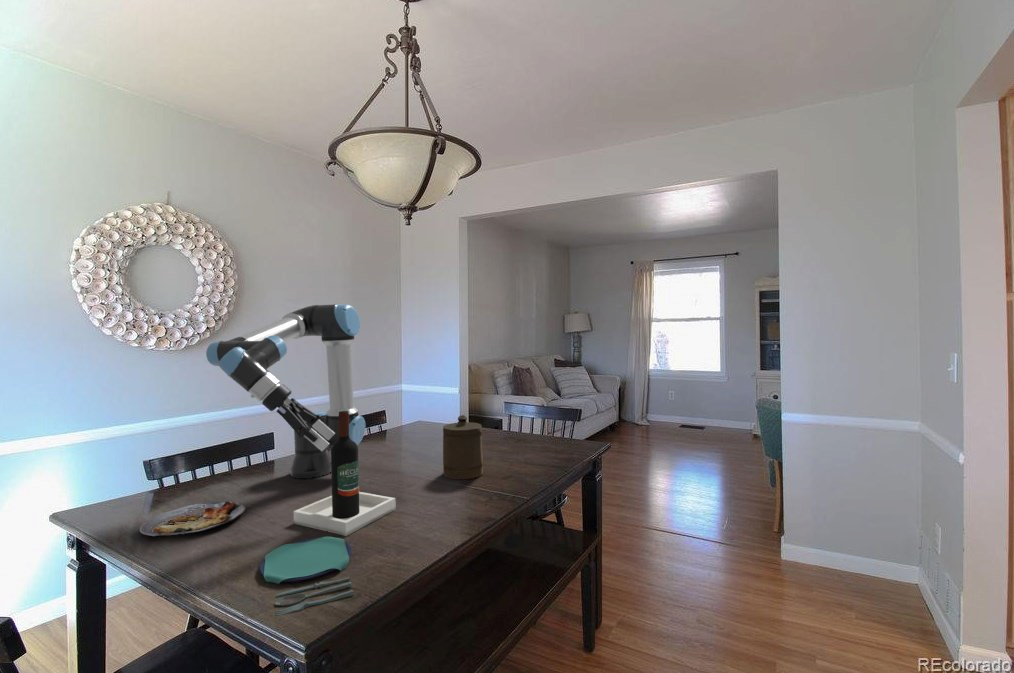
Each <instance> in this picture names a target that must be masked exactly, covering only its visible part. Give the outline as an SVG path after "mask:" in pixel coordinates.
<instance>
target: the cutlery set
mask: <svg viewBox="0 0 1014 673" xmlns="http://www.w3.org/2000/svg"><path fill="white" fill-rule="evenodd" d="M351 555H352V546H351V545H350V543H349V542H347V541H345V539H344V538H341V537H333V536H322V537H314V538H309V539H307V538H306V539H303V540H299V541H296V542H292V543H287V544H285V543H284V544H282V545H280V546H279V547H276V548H275V549H273V550H271V551H270V552H268V553H267V554H265V555H264V559H262V561H261V563H260V565H259V571H260V574H261V575H262V576H263V579H264V580H265V582H267V583H271V584H272V583H273V584H277V585H279V584H280V583H281V582H297V581H305V580H310V579H315V578H317V577H320V576H323V575H326V574H328V573H330V572H332V571H334V570H339V571H340V572H342V571H343V570H345V568H346V567H347V566H348V564H349V561H350V557H351ZM347 580H348V581H347ZM350 580H351V579H350V576H348V577H347V576H346V577H344V578H340V579H335V580H330V581H320V582H319V583H316V582H314V585H308V586H303V587H297V588H294V589H290V590H286V591H283V592H280V593H279V592H278V593H277V594H276V595H275V598H278V597H281V598H279V599H277V600H276V601H275V604H274V605H276V606H279V607H280V606H282V607H287V606H290V607H287V608H283V609H279V610H276V611H275V616H276V617H278V616H281V615H286V614H291V613H295V612H300V611H303V610H305V609H306V608H309V606H316V605H321V604H326V603H330V602H333V601H337V600H340V599H341V600H342V599H343V598H347V597H352V596H354V593H355V592H354V590H353V589H351V590H348V591H344V592H342V593H338V594H336V595H333V596H329V597H326V598H323V599H322V598H321V599H318V600H317V599H316V600H314V601H313V600H312V601H309V600H306V601H303V600H305V599H308V598H311V597H314V596H318V595H321V594H324V593H327V592H332V591H336V590H340V589H344V588H350V587H352V582H351V581H350ZM342 581H343V582H344V581H347V582H345V583H341V584H338V585H337V584H336V585H335V586H331V587H328V588H325V589H322V590H319V591H316V592H313V593H310V594H309V595H308V594H306V593H300V592H304V591H308V590H313V589H315V590H317V589H318V588H323V587H325V586H327V585H329V584H333V583H334V584H335V583H338V582H342ZM283 596H284V597H283ZM293 598H302V599H300V600H297V601H295V602H292V603H286V604H285V603H284V604H281V603H282V602H284V601H287V600H289V599H293Z"/></svg>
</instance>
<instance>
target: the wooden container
mask: <svg viewBox="0 0 1014 673" xmlns="http://www.w3.org/2000/svg"><path fill="white" fill-rule="evenodd" d="M467 419H468V418H467V416H465V414H464V415H463V414H461V415H459V416H458V417H457V422H453V423H448V424H445V425H443V426H442V433H443V435H442V438H443V439H442V442H443V443H442V462H443V463H442V465H443V466H442V467H443V469H442V470H443V476H444V477H445V478H447V479H452V480H459V479H461V480H470V479H471V478H472V479H476V478H478V476H479V477H480V476H482V475H484V474H483V473H484V464H483V463H484V461H483V460H484V455H483V454H484V453H483V436H482V434H483V431H482V429H483V428H482V427H483V426H482V424H481V423H477V422H469V421H467ZM475 477H476V478H475Z"/></svg>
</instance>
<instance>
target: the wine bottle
mask: <svg viewBox="0 0 1014 673" xmlns="http://www.w3.org/2000/svg"><path fill="white" fill-rule="evenodd" d="M330 448H331V450H330V460H331V496H332V516H333V517H334V518H338V519H345V518H350V517H354V516H356V515H358V514H359V492H360V481H359V480H360V478H359V477H360V472H359V446H358V445H357V444H356V443H355V442H354V441H352V440H351V439H350V436H349V411H340V412H339V440H338V441H337V442H336V443H335V444H334V445H333V446H332V447H330Z"/></svg>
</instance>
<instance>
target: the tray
mask: <svg viewBox="0 0 1014 673" xmlns="http://www.w3.org/2000/svg"><path fill="white" fill-rule="evenodd" d="M396 503H397V501H396V497H391V496H385V495H380V494H379V495H378V494H374V493H369V492H361V491H359V514H358V515H356V516H354V517H350V518H345V519H338V518H334V517H333V516H332V495H330V496H327V497H325V498H322V499H320V500H317V501H314V502H313V503H309V504H308V505H305V506H303V507H301V508H298V509H295V510H293V511H292V512H293V524H294V525H299V526H302V527H307V528H312V529H315V530H319V531H324V532H327V531H328V533H332V534H337V535H340V536H344V537H347V536H349V535H351V534H352V533H354V532H357V531H359V530H360V529H362V528H364V527H366V526H368V525H369V524H371V523H373V522H375V521H378V520H379V519H381V518H383V517H385V516H387V515H388V514H390V513H392V512H394V511H396V510H397V509H396V507H397V506H396Z"/></svg>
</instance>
